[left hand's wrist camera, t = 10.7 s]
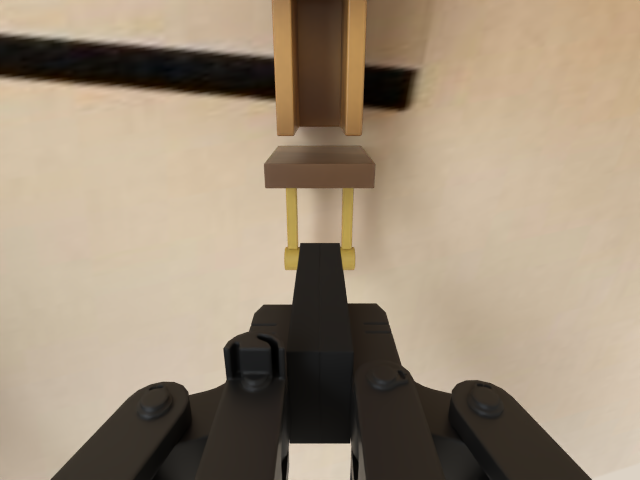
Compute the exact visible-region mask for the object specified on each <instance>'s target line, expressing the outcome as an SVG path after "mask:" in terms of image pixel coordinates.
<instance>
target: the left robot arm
mask: <svg viewBox="0 0 640 480" xmlns="http://www.w3.org/2000/svg"><path fill="white" fill-rule="evenodd" d="M224 358H225V368H226V377H227V380H226V383H225V384H223V385H221V386H219V387H217V388H214V389H211V390H208V391H205V392H200V393H196V394H192V395H189V394H188V391H187V390H186V389H185V387H184V386H183V385H180V384H178V383H175V382H160V383H155V384H151V385H148V386H146V387H144V388H142V389H140V390H138V391H137V392H136V393H134V394H133V395H132V396H131V397H129V398H128V399H127V400H126V401H125V402H124V403H123V404H122V405H121V406H120V407H119V408H118V410H117V411H116V412H115V413H114V414H113V415H112V416H111V417H110V418H109V419H108V420H107V421H106V422H105V423H104V424H103V425H102V426H101V427H100V428H99V429H98V430H97V432H96V433H95V434H94V435H93V436H92V437H91V438H90V439H89V440H88V441H87V442H86V443H85V444H84V445H83V446H82V447H81V448H80V449H79V450H78V451H77V452H76V454H75V455H74V456H73V457H72V458H71V459H70V460H69V461H68V462H67V463H66V464H65V465H64V466H63V467H62V468H61V469H60V470H59V471H58V472H57V473H56V474H55V476H54V477H53V478H52V479H51V480H288V472H289V439H290V443H350V439H351V447H352V448H351V473H350V480H592V479H591V478H590V477H589V476H588V475H587V474H586V473H585V472H584V471H583V470H582V469H581V468H580V467H579V466H578V465H577V464H576V463H575V462H574V460H573V459H572V458H571V457H570V456H569V455H568V454H567V453H566V452H565V451H564V450H563V449H562V448H561V447H560V446H559V445H558V444H557V443H556V442H555V441H554V440H553V439H552V438H551V437H550V436H549V434H548V433H547V432H546V431H545V430H544V429H543V428H542V427H541V426H540V425H539V424H538V423H537V422H536V421H535V420H534V419H533V418H532V417H531V416H530V415H529V414H528V413H527V412H526V411H525V409H524V408H523V407H522V406H521V405H520V404H519V403H518V402H517V401H516V400H515V399H514V398H513V397H512V396H511V395H509V394H508V393H507V392H506V391H504V390H503V389H502V388H499V387H497V386H495V385H493V384H491V383H488V382H483V381H479V380H467V381H464V382H461V383H459V384H457V385H456V386H455V387H454V389H453V390H452V394H450V393H446V392H442V391H438V390H433V389H430V388H427V387H424V386H422V385H420V384H418V383H416V382H415V381H414V380H413V378H412V376H411V374H410V373H409V371H408V370H406V369H405V368H404V367H403V366H402V365H401V362H400V359H399V355H398V352H397V349H396V345H395V342H394V339H393V335H392V334H391V329H390V325H389V322H388V319H387V315H386V312H385V311H384V310H383V309H381V308H380V307H379V306H378V305H377V304H348V303H347V296H346V288H345V281H344V273H343V265H342V258H341V250H340V243H300V250H299V258H298V265H297V273H296V281H295V288H294V296H293V303H292V305H263V306H262V307H261V308H260V309H259V310H258V311H257V312H256V313H255V314H254V317H253V320H252V324H251V327H250V330H249V332H246V333H243V334H240V335H238V336H236V337H234V338H233V339H231V340H230V341H228V343H227V344H226V346H225V347H224Z"/></svg>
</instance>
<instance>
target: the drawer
mask: <svg viewBox="0 0 640 480" xmlns="http://www.w3.org/2000/svg"><path fill="white" fill-rule="evenodd" d="M366 14H367V0H272V15H273V41H274V66H275V91H276V116H277V135H278V136H294V134H295V133H296V131H297V130H298V128H299V127H341V129H342V130H343V132H344V133H345V135H346V136H361V135H362V119H363V93H364V67H365V40H366ZM264 174H265V188H286V205H287V235H288V247H286V248H285V256H284V262H285V270H297V265H298V258H299V250H300V247H298V218H297V188H343V193H342V240H341V246H342V247H340V250H341V258H342V265H343V270H354V268H355V249H354V247H352V219H353V188H374V179H375V163H374V162H373V161H372V159H371V158H370V157H369V156H368V154H367V153H366V152H365V151H364V149H363V148H362V147H361V146H278V147H277V149H276V150H275V151H274V152H273V154H272V155H271V156H270V157H269V159H268V160H267V161H266V162H265V164H264Z"/></svg>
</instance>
